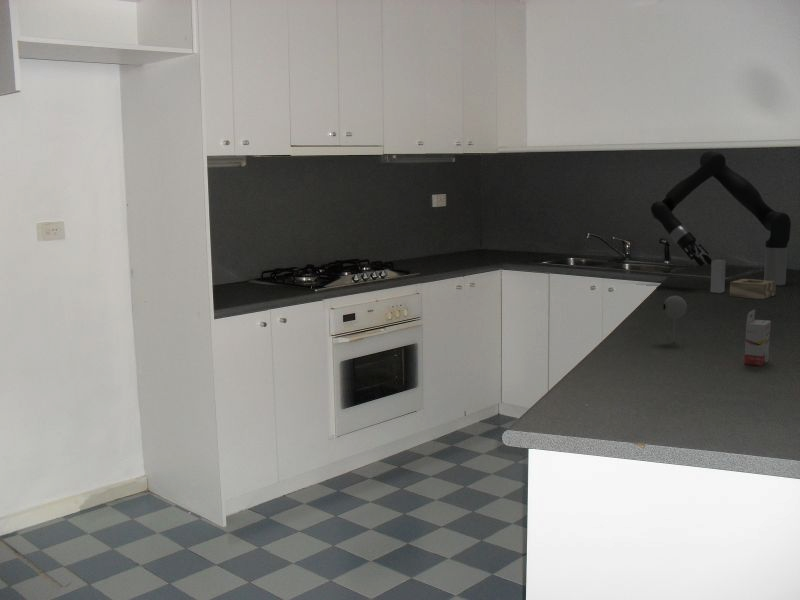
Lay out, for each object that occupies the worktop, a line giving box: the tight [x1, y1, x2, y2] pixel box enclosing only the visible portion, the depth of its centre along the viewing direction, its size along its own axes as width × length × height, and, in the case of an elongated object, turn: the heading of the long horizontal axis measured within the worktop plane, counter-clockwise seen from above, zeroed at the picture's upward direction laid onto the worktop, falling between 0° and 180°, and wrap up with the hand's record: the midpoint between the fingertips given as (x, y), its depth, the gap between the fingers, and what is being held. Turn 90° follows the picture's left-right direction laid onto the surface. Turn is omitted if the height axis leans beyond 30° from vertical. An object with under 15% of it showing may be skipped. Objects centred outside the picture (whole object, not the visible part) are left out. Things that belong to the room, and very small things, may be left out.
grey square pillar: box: [710, 259, 727, 294], centre depth 387 cm, size 4×4×14 cm
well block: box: [729, 278, 777, 300], centre depth 376 cm, size 14×14×6 cm
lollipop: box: [662, 295, 688, 343], centre depth 281 cm, size 7×7×15 cm
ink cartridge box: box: [744, 309, 772, 367], centre depth 250 cm, size 9×5×15 cm, turn 145°
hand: (707, 264), depth 390 cm, fingers open, 8 cm apart
